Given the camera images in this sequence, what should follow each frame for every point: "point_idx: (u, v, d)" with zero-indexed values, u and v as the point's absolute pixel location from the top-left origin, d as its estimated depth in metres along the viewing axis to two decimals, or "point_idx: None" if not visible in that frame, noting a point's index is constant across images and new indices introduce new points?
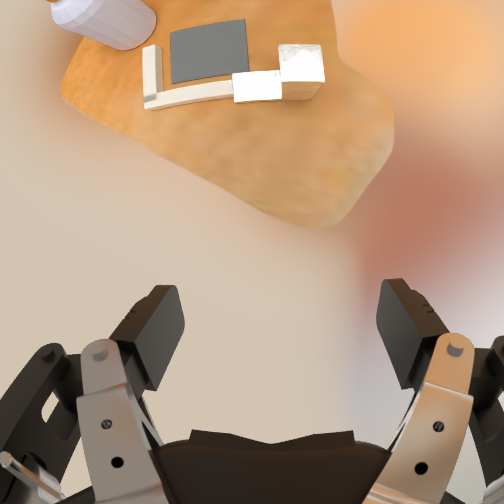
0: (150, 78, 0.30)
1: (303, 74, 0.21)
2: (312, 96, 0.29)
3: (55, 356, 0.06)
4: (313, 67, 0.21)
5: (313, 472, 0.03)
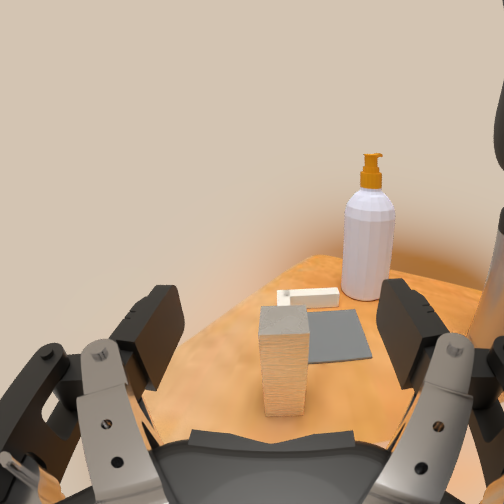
0: (305, 293, 0.43)
1: (267, 319, 0.23)
2: (264, 400, 0.24)
3: (55, 356, 0.06)
4: (276, 327, 0.22)
5: (313, 472, 0.03)
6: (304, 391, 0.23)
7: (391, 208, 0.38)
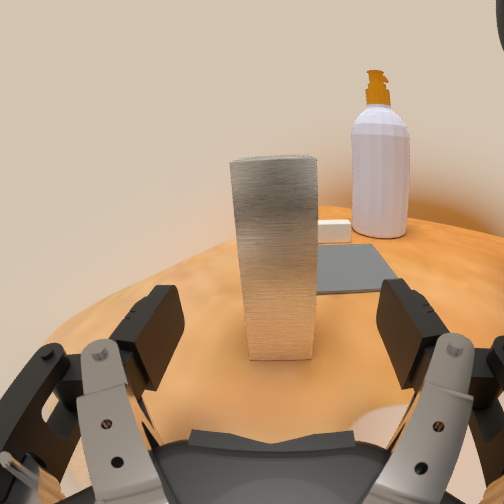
0: None
1: None
2: (246, 323, 0.16)
3: (55, 356, 0.06)
4: (261, 159, 0.13)
5: (313, 472, 0.03)
6: (314, 301, 0.15)
7: (404, 125, 0.30)
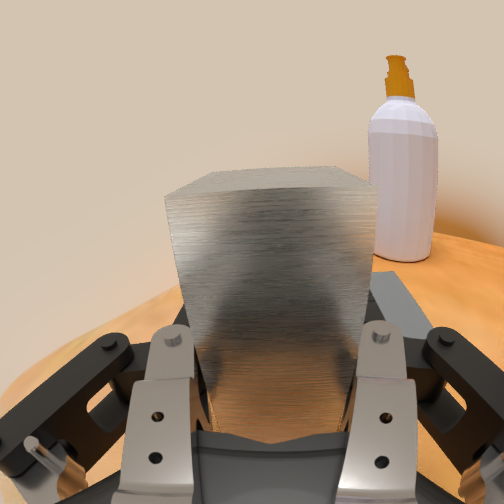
0: None
1: (219, 178, 0.07)
2: None
3: (119, 346, 0.07)
4: (243, 182, 0.06)
5: (313, 472, 0.03)
6: (335, 425, 0.07)
7: (432, 123, 0.22)
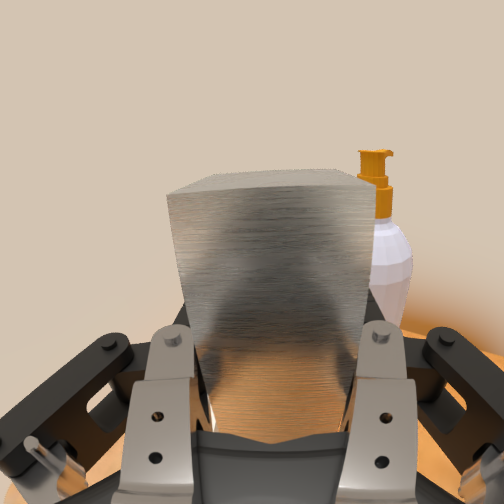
0: None
1: (220, 179, 0.07)
2: None
3: (119, 346, 0.07)
4: (244, 182, 0.06)
5: (313, 472, 0.03)
6: (335, 427, 0.07)
7: (408, 255, 0.20)
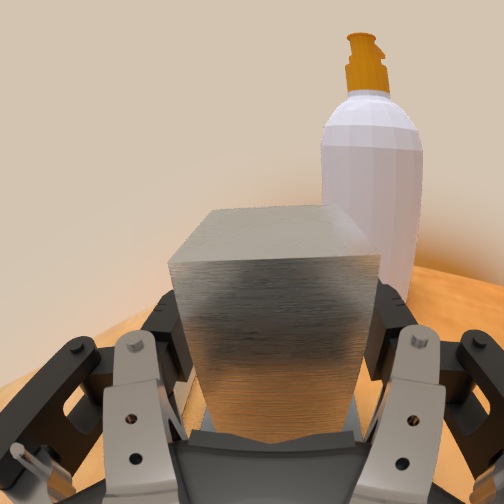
0: None
1: (220, 228, 0.07)
2: None
3: (86, 349, 0.06)
4: (246, 241, 0.06)
5: (313, 472, 0.03)
6: None
7: (415, 128, 0.16)
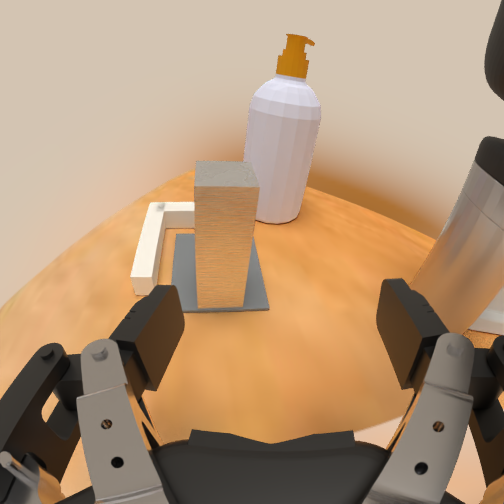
0: (185, 207, 0.32)
1: (205, 172, 0.18)
2: None
3: (55, 356, 0.06)
4: (217, 179, 0.17)
5: (313, 472, 0.03)
6: (246, 273, 0.22)
7: (316, 105, 0.27)
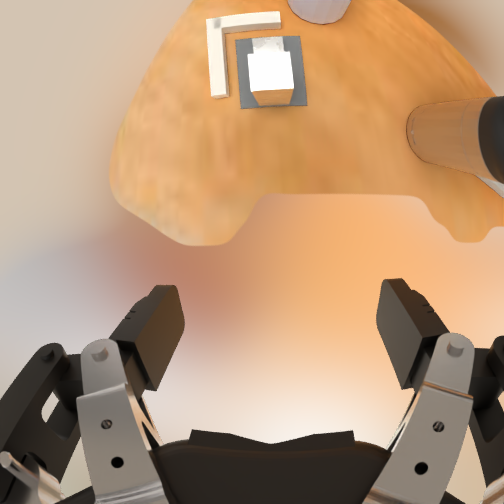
0: (239, 21, 0.27)
1: (256, 72, 0.22)
2: (258, 102, 0.31)
3: (55, 356, 0.06)
4: (265, 80, 0.22)
5: (313, 472, 0.03)
6: (289, 99, 0.29)
7: None
